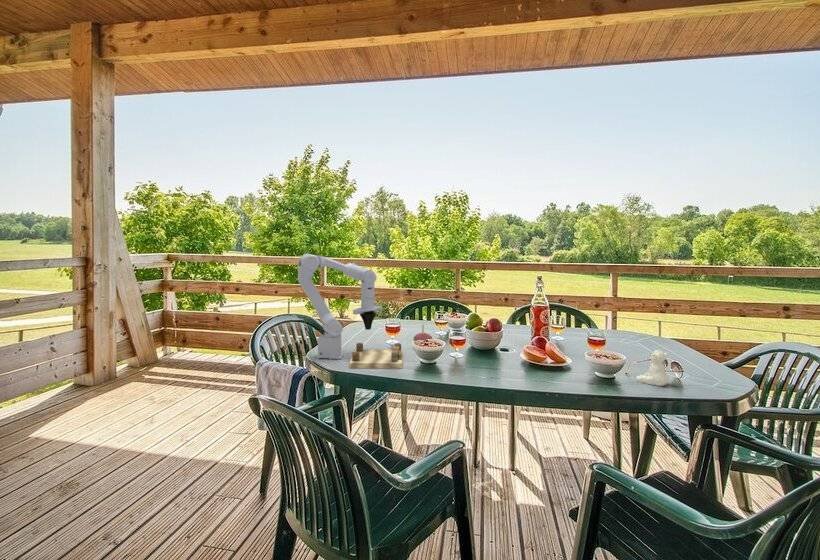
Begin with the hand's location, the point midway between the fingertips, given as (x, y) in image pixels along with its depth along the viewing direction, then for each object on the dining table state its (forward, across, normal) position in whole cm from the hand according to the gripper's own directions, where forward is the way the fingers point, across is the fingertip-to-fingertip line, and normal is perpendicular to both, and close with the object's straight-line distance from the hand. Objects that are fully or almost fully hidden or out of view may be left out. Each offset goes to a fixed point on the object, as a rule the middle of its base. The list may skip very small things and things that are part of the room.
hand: (368, 329), depth 184 cm
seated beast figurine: (+11, +46, -99) cm, 110 cm away
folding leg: (+8, -2, -19) cm, 20 cm away
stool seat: (+10, -5, -12) cm, 17 cm away
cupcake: (+11, +22, -11) cm, 27 cm away
